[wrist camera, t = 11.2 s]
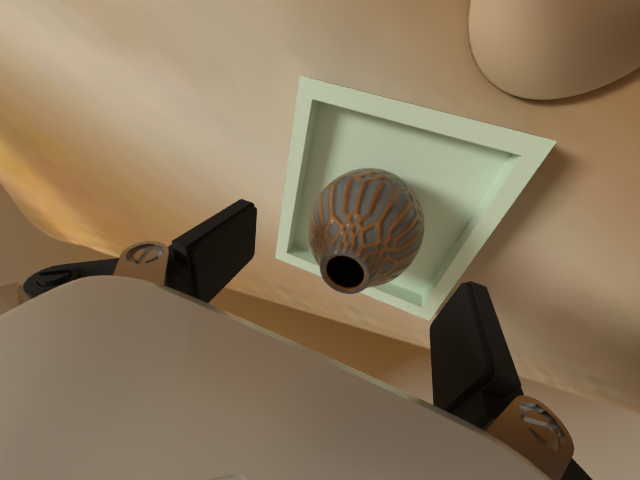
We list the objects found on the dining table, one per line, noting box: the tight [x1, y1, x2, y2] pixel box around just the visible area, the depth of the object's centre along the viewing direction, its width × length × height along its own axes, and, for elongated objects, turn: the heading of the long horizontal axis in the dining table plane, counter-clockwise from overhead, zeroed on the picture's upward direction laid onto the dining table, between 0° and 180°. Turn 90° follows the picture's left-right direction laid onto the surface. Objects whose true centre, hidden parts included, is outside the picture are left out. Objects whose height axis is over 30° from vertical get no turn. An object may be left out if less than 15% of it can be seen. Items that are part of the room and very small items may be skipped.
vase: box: [308, 168, 424, 294], centre depth 15 cm, size 7×7×9 cm
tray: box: [275, 76, 557, 321], centre depth 18 cm, size 14×14×2 cm
